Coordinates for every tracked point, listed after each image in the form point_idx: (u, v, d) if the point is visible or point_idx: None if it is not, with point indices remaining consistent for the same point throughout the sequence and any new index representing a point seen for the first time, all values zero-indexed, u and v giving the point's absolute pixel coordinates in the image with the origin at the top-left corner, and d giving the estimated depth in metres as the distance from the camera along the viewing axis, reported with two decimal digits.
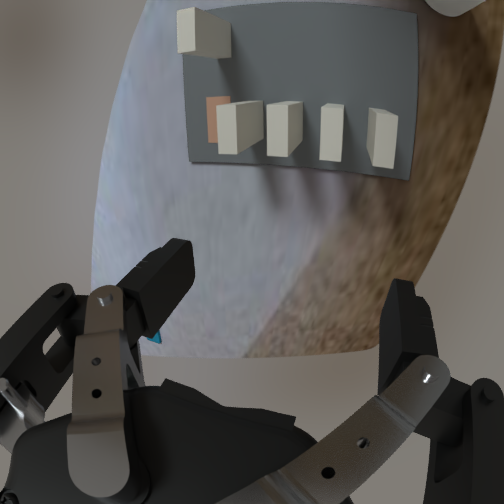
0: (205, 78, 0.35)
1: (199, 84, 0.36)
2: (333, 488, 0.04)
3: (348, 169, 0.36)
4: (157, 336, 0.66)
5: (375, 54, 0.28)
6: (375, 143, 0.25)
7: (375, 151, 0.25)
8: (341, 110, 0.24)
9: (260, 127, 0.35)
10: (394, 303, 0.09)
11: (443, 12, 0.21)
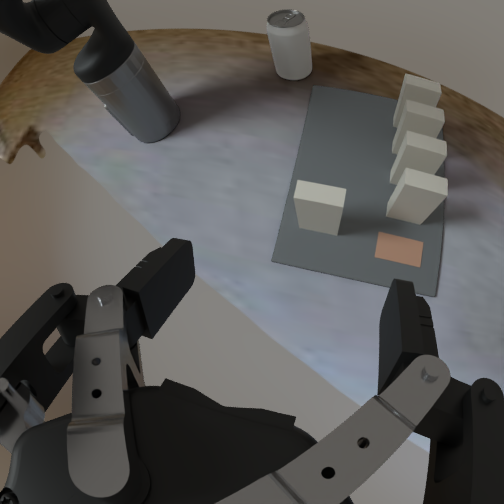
0: (354, 253, 0.37)
1: (359, 261, 0.37)
2: (333, 488, 0.04)
3: None
4: None
5: (350, 114, 0.42)
6: (426, 88, 0.30)
7: (431, 89, 0.29)
8: (407, 100, 0.30)
9: None
10: (394, 303, 0.09)
11: (310, 68, 0.44)
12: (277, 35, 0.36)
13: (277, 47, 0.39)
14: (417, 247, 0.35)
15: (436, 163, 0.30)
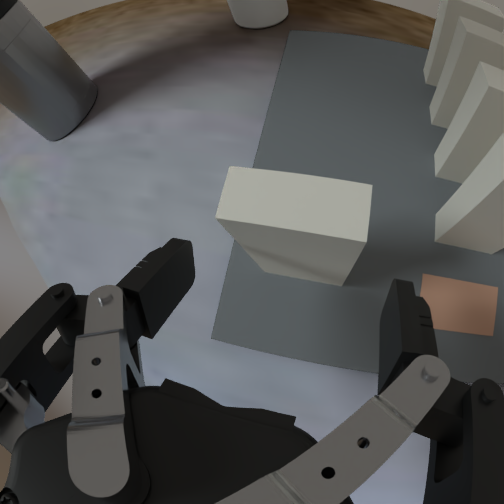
0: (377, 321, 0.17)
1: None
2: (333, 488, 0.04)
3: None
4: None
5: (352, 65, 0.23)
6: (482, 9, 0.11)
7: (491, 12, 0.10)
8: (462, 17, 0.11)
9: None
10: (394, 303, 0.09)
11: (285, 9, 0.25)
12: None
13: None
14: (489, 298, 0.16)
15: None
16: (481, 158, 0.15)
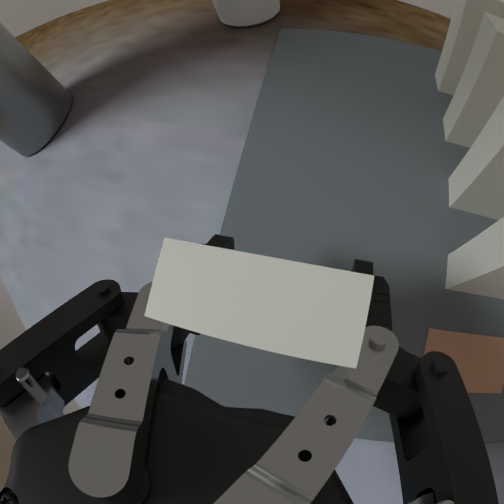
0: None
1: None
2: (315, 469, 0.04)
3: None
4: None
5: (353, 67, 0.19)
6: None
7: None
8: (488, 13, 0.07)
9: None
10: None
11: (276, 5, 0.22)
12: None
13: None
14: (501, 352, 0.13)
15: None
16: None
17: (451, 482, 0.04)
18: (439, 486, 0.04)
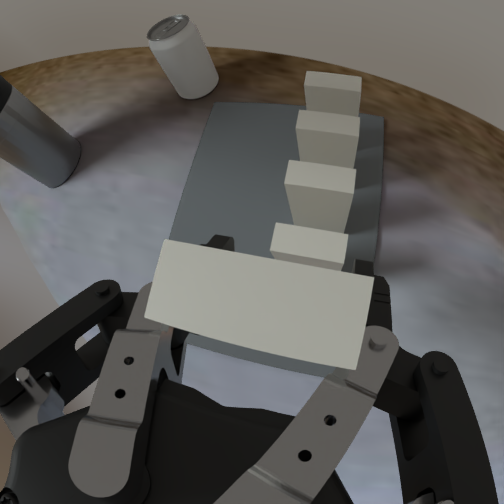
0: None
1: None
2: (314, 469, 0.04)
3: (379, 171, 0.30)
4: None
5: (253, 135, 0.35)
6: (336, 88, 0.23)
7: (345, 88, 0.23)
8: (300, 111, 0.23)
9: None
10: None
11: (214, 81, 0.37)
12: (156, 50, 0.29)
13: (162, 64, 0.32)
14: None
15: (342, 204, 0.22)
16: (316, 217, 0.27)
17: (451, 482, 0.04)
18: (439, 486, 0.04)
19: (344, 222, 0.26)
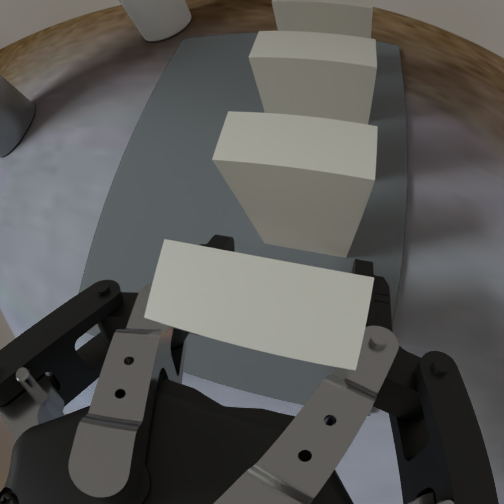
0: None
1: (200, 339, 0.18)
2: (315, 469, 0.04)
3: (401, 102, 0.19)
4: None
5: (226, 65, 0.24)
6: None
7: None
8: None
9: None
10: None
11: (184, 18, 0.26)
12: None
13: None
14: None
15: (357, 100, 0.11)
16: None
17: (451, 482, 0.04)
18: (439, 486, 0.04)
19: None
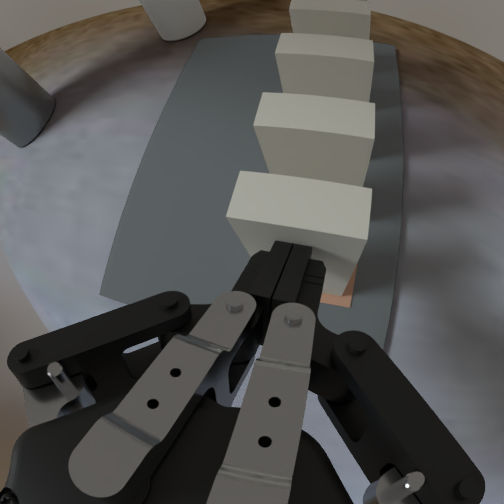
0: (218, 283, 0.21)
1: None
2: (280, 451, 0.04)
3: (397, 94, 0.22)
4: None
5: (242, 62, 0.26)
6: None
7: None
8: None
9: None
10: None
11: (200, 20, 0.29)
12: None
13: (142, 0, 0.24)
14: None
15: (359, 88, 0.14)
16: None
17: (409, 455, 0.04)
18: (398, 460, 0.05)
19: None
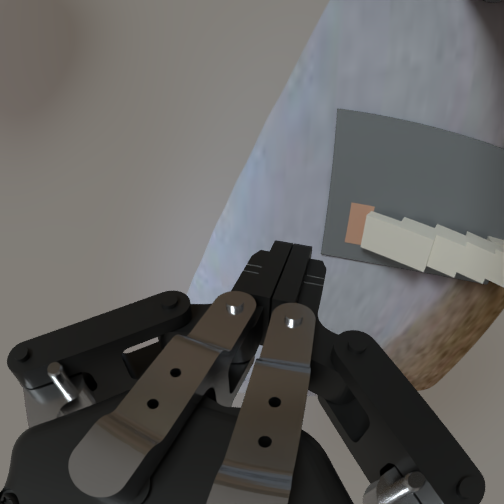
0: (353, 185, 0.40)
1: (346, 188, 0.40)
2: (280, 451, 0.04)
3: None
4: None
5: (493, 192, 0.32)
6: None
7: None
8: None
9: None
10: None
11: None
12: None
13: None
14: (361, 240, 0.43)
15: (472, 274, 0.35)
16: None
17: (409, 455, 0.04)
18: (398, 460, 0.05)
19: None
